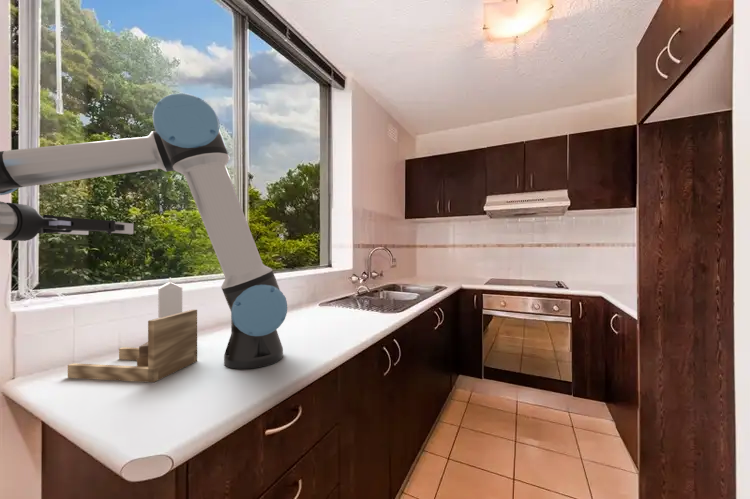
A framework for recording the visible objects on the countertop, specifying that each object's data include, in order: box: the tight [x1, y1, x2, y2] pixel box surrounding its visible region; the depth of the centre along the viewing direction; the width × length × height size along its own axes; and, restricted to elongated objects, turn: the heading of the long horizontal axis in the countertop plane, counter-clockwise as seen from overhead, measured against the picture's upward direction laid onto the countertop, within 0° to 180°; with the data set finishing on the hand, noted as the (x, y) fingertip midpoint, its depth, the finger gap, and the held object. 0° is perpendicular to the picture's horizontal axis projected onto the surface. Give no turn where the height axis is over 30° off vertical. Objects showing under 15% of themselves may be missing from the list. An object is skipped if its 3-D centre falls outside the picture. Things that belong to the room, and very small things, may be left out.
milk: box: [157, 277, 183, 318], centre depth 96 cm, size 6×6×22 cm
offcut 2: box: [136, 356, 148, 367], centre depth 77 cm, size 5×7×2 cm
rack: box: [67, 309, 198, 383], centre depth 79 cm, size 23×14×14 cm, turn 82°
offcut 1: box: [138, 341, 148, 357], centre depth 77 cm, size 5×6×2 cm
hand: (109, 229), depth 82 cm, fingers open, 13 cm apart
